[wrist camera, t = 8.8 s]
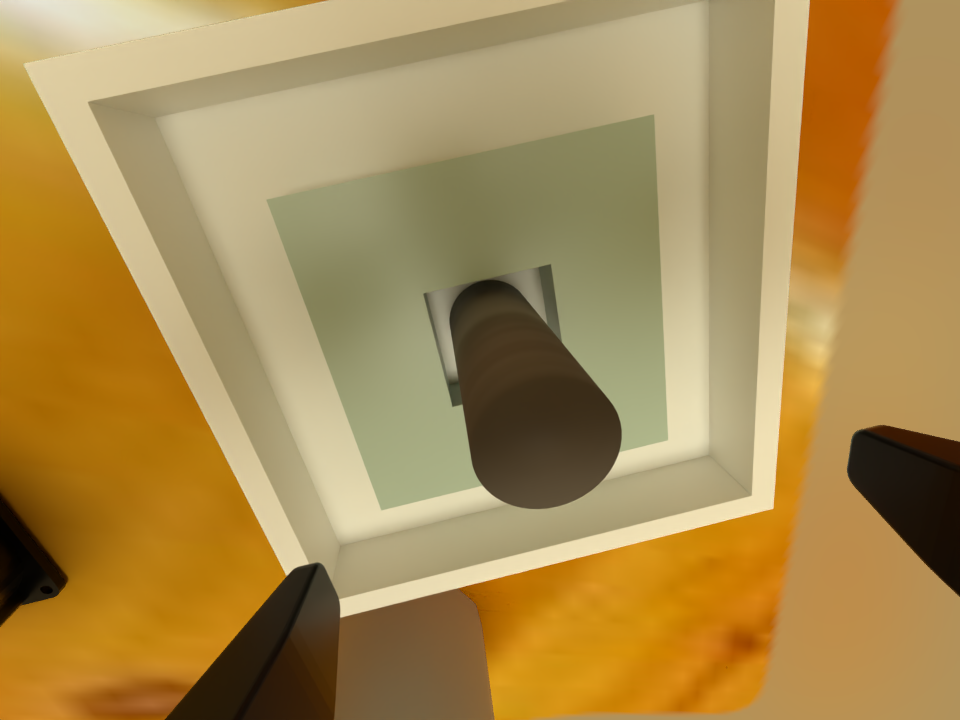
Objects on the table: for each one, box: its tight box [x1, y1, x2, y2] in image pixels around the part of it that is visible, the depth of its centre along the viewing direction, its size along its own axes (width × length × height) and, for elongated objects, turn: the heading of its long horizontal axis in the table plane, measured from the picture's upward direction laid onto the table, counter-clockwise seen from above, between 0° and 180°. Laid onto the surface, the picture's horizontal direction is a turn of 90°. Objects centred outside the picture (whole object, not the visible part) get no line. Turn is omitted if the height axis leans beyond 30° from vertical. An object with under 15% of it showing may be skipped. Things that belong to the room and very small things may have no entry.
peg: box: [449, 280, 622, 509], centre depth 13 cm, size 3×3×9 cm
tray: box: [23, 0, 810, 618], centre depth 17 cm, size 20×20×4 cm
